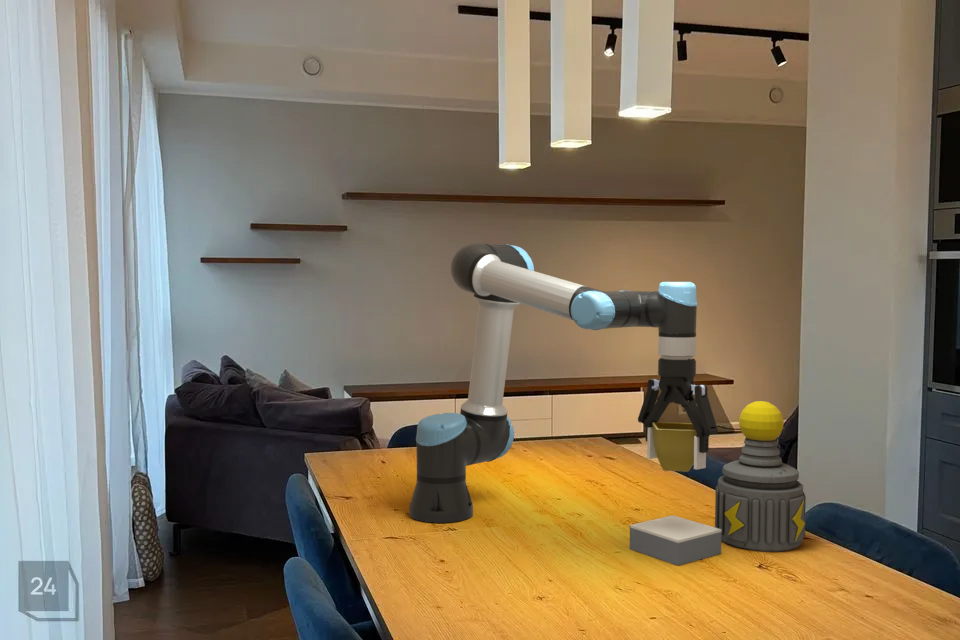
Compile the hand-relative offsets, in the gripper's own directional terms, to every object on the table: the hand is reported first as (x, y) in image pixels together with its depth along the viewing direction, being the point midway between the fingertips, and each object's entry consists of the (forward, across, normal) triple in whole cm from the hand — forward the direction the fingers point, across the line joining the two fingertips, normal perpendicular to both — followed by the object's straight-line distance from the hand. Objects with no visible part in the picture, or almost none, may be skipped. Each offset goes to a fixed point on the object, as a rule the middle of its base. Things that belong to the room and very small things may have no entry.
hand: (675, 463), depth 177 cm
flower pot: (+1, 0, 0) cm, 1 cm away
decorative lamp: (+19, -5, -21) cm, 29 cm away
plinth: (+18, 0, 0) cm, 18 cm away
